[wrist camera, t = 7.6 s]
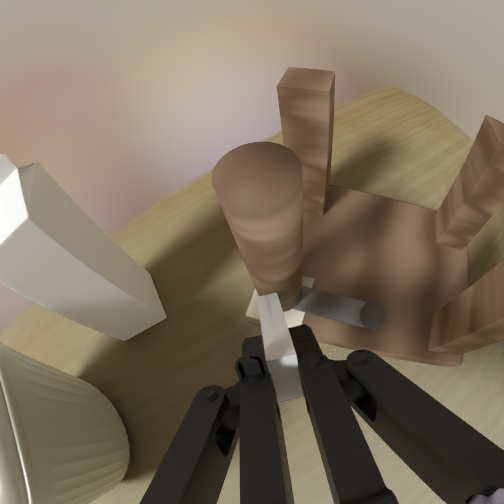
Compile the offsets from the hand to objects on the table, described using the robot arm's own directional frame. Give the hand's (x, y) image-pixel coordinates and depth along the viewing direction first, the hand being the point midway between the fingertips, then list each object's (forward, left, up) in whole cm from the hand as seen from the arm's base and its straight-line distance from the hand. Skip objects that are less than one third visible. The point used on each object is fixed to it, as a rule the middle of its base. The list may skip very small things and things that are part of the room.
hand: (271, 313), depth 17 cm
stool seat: (-7, -8, -8) cm, 14 cm away
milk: (+16, +2, -8) cm, 18 cm away
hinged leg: (-3, -3, -5) cm, 7 cm away
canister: (+16, +19, -8) cm, 26 cm away
